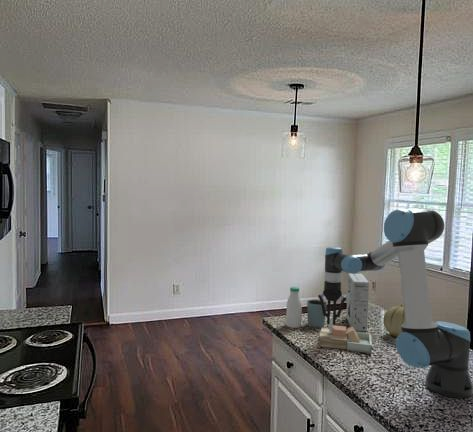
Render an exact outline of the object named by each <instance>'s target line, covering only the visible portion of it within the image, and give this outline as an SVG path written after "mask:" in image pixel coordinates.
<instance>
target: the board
mask: <svg viewBox="0 0 473 432" xmlns="http://www.w3.org/2000/svg"><path fill="white" fill-rule="evenodd" d="M347 342H348V334H347V329H346V337H339V336H332V332H329V328H328V327H321V330H320V333H319V338H318V347H324V348H333V349H339V350H340V349H341V350H347Z"/></svg>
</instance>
